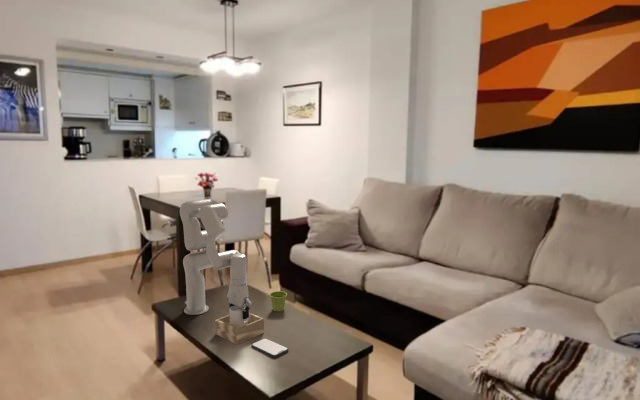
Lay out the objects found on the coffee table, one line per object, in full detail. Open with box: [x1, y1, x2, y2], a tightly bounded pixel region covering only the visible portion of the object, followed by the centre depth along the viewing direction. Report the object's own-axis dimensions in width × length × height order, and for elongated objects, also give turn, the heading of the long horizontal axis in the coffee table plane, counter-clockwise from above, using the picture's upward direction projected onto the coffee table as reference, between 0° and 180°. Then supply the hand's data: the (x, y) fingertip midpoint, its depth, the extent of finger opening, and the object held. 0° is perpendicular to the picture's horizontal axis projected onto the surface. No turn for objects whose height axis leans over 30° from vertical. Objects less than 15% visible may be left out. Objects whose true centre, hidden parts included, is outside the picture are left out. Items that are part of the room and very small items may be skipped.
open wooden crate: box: [214, 312, 265, 345], centre depth 198 cm, size 16×16×7 cm
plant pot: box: [269, 290, 288, 312], centre depth 226 cm, size 9×9×9 cm
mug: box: [228, 305, 251, 328], centre depth 198 cm, size 10×7×12 cm, turn 123°
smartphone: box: [251, 338, 289, 359], centre depth 184 cm, size 9×2×16 cm
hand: (239, 315), depth 198 cm, fingers open, 9 cm apart
